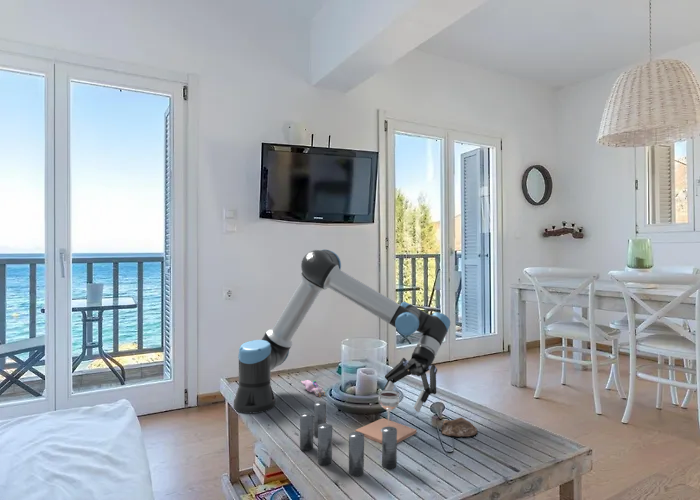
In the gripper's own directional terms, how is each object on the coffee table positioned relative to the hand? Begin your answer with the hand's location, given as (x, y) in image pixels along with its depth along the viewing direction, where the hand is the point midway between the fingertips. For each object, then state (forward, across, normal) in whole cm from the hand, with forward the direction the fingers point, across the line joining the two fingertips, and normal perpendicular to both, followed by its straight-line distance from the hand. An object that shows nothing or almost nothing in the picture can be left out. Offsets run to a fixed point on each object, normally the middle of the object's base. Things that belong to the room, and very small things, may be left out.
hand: (399, 404), depth 146 cm
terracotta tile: (+10, 0, -1) cm, 10 cm away
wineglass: (+9, 0, 0) cm, 9 cm away
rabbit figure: (+4, +47, -8) cm, 48 cm away
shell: (-3, -15, -15) cm, 21 cm away
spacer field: (+25, 0, +14) cm, 29 cm away
